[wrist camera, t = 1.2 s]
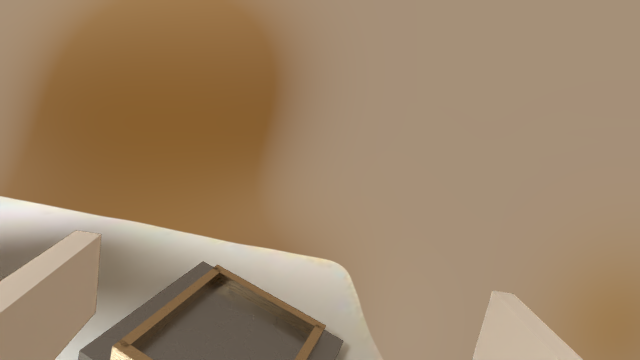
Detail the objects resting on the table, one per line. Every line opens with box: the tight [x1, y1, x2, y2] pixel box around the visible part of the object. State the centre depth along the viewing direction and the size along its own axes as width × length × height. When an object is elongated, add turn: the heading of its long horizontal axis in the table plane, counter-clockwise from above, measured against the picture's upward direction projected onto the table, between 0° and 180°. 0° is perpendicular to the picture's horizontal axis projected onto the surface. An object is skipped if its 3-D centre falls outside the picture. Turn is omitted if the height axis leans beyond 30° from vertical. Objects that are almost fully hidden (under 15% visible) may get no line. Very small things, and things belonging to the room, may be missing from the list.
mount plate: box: [78, 262, 343, 360], centre depth 42 cm, size 20×18×3 cm
